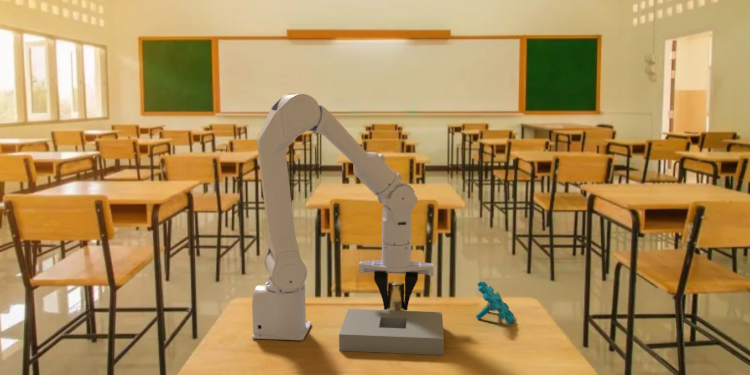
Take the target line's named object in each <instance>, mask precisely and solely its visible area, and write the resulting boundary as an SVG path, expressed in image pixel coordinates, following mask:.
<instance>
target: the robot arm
mask: <svg viewBox="0 0 750 375" xmlns="http://www.w3.org/2000/svg"><path fill="white" fill-rule="evenodd" d="M308 131H311V132H312V133H316V134H320V135H322V136H324V138H326V139H327V140H328V141H329V142H330V143H331V144H332V145H333V146H334V147H335V148H336V149H338V151H340V152H341V153H342V155H344V156H345V157H346V158H347V159H348V160H349V161H350V162H351V163H352V165H353V175H355V177H356V178H358V180H360V182H362V183H363V185H364V186H365V187H367V189H369V191H371V192H372V193H373V195H375V196H376V197H377V200H378V203H379V204H382V210H381V212H382V219H381V228H382V229H381V259H380V260H364V261H363V260H361V261H359V263H358V270H359V271H358V273H359V274H365V273H369V274H370V273H373V274H374V275H373V280H374V283H375V285H376V286H377V288H378V291H379V293H380V296H381V299H382V303H383V310H388V283H389V280H388V279H389V278H388V277H389V274H404V275H405V276H404V311H408V309H409V308H408V306H409V303H410V302H409V301H410V299H411V296H412V293H413V290H414V288H415V286H416V284H417V283H418V279H419V275H428V276H430V277H431V276H432V277H433V276H434V269H435V268H434V263H433V262H421V261H415V260H412V225H413V224H412V223H413V222H412V218H413V217H412V213H413V212H412V211H413V209H414V208H415V207H416V206H417V203H418V196H416V194H415V192H416V191H415V189H414V188H413V187H412V186H411V184H410V185H409V184H408V183H405V182H403V181H402V177H403V175H402V174H400V173H399V172H395V170H393V169H392V167H390V166H389V165H388V163H387V162H386V161H387V158H386V157H385V155H384V154H381V153H379V154H378V153H377V152H376V151H366V150H365V149H364V148H363V147H362V146H361V145H360V144H359V143H358V141H357V140H356V139H355V138H354V137H353V135H351V134H350V132H349V131H348V130H347V129H346V127H344V126H343V125H342V123H340V122H339V121H338V119H337V118H336V117H335V116H334V114H332V113H331V112H330V111H329V110H328V109H327V108H326V107H324V106H323V105H321V104H319V103H318V101H317V100H316V99H315V98H314V97H313V96H311V95H309V94H306V93H298V94H297V93H294V92H293V93H287V94H285V95H283V96H281V97H280V98H279V99H278V100H277V101H276V102H275V103H274V104H273V105H271V106H270V109H269V112H268V115H267V117H266V119H265V121H264V123H263V124H262V128H260V131H259V134H258V135H257V138H256V146H257V156H258V164H259V173H260V179H261V180H260V181H261V188H262V196H263V203H264V212H265V220H266V228H267V241H266V245H267V251H266V254H265V256H264V260H263V261H264V267H265V270H266V271H267V272H268V273H269V276H268V278H267V279H266V282H265V284H258V285H256V286H255V288H254V290H253V295H252V300H251V301H252V304H251V308H252V309H251V310H252V335H251V337H252V339H255V340H256V339H258V340H260V339H261V340H281V341H282V340H283V341H285V340H286V341H287V340H288V341H303V340H304V339H305V337H306V335H307V333H308V331H309V329H310V327H311V325H312V322H311V321H310V320H306V319H307V318H306V314H307V313H306V280H307V277H308V270H307V266H306V264H305V263H304V261H303V260H302V258H301V254H300V248H299V244H298V240H297V237H296V233H295V232H296V231H295V223H294V215H293V214H294V213H293V205H292V204H293V203H292V196H291V188H290V179H289V178H290V177H289V169H288V162H287V153H286V152H287V151H286V150H287V149H288V148H289V146H290V145H291V144H292V143H293V142H294V141H295V140H296V139H297V138H298V137H299V136H300V135H302V134H304V133H306V132H308Z"/></svg>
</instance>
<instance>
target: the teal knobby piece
mask: <svg viewBox="0 0 750 375" xmlns="http://www.w3.org/2000/svg"><path fill="white" fill-rule="evenodd" d="M476 285H477V286H478V288H477V289H478V291H479V292H480V293H481V294H482V298H483V300H484V301H485V302H487V303H486V305H485V306H484V307H482V308H481V311H480V312H478V313H477V314H475V316H476V319H478V320H481V319H482V318H483V317H484V316H486V315H487V314H488V313H489V312H496V311H497V312H498V316H499V317H500V319H501V320H505V322H506V323H508V324H509V325H511V324H513V323H515V321H516V319H515V317H514V316H515V315H514V313H513V312H512V311H511V310H510V307H509V305H508V303H506V302H504V300H503V298H502V296H501V293H499V291H495V289H494V287H492V286H491V285H488V284H487V282H485V281H478V283H477V284H476Z"/></svg>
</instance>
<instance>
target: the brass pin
mask: <svg viewBox="0 0 750 375" xmlns="http://www.w3.org/2000/svg"><path fill="white" fill-rule="evenodd" d="M404 299H405V282H403V281H398V280H392V281H388V310H395V311H405V310H404Z"/></svg>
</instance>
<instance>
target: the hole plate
mask: <svg viewBox="0 0 750 375" xmlns="http://www.w3.org/2000/svg"><path fill="white" fill-rule="evenodd" d="M443 322H444V320H443V311H418V310H417V311H416V310H404V311H395V310H384V309H368V308H367V309H366V308H359V309H358V308H348V309H347V312H346V313H345V317H344V320H343V322H342V324H341V329H340V331H339V332H338V333H339V334H338V350H339V352H340V351H342V352H361V353H362V352H363V353H365V352H367V353H387V354H405V355H406V354H409V355H410V354H411V355H431V356H432V355H433V356H434V355H435V356H444V346H445V345H444V344H445V341H444V340H445V338H444V323H443Z"/></svg>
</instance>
